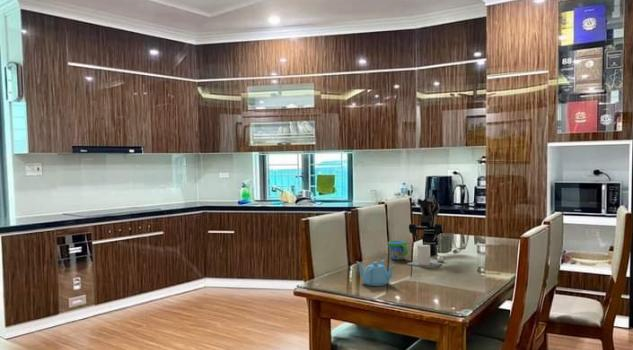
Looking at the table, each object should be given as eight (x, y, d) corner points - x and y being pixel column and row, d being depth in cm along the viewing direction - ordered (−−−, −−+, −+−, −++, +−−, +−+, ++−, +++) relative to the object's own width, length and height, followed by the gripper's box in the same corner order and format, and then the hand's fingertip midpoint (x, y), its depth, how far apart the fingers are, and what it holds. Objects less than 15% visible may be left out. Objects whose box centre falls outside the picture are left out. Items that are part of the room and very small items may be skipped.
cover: (419, 262, 257) (418, 244, 257) (430, 262, 255) (429, 244, 255) (418, 264, 251) (417, 246, 251) (429, 264, 249) (428, 246, 249)
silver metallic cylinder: (435, 262, 260) (435, 256, 260) (438, 261, 262) (438, 255, 262) (441, 262, 257) (441, 257, 257) (444, 261, 260) (444, 256, 260)
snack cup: (412, 260, 266) (412, 243, 266) (397, 262, 262) (396, 244, 262) (398, 256, 281) (397, 239, 280) (383, 258, 277) (382, 241, 276)
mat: (406, 264, 255) (406, 263, 255) (416, 261, 262) (416, 260, 262) (432, 268, 244) (432, 267, 244) (442, 265, 251) (441, 263, 251)
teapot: (365, 289, 209) (365, 266, 209) (356, 281, 224) (355, 260, 224) (396, 286, 212) (395, 264, 212) (384, 278, 227) (383, 257, 227)
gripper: (408, 210, 266) (406, 231, 256) (441, 210, 260) (440, 232, 250) (411, 221, 274) (408, 243, 264) (443, 222, 267) (442, 244, 257)
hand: (424, 240), depth 258 cm, fingers open, 9 cm apart
